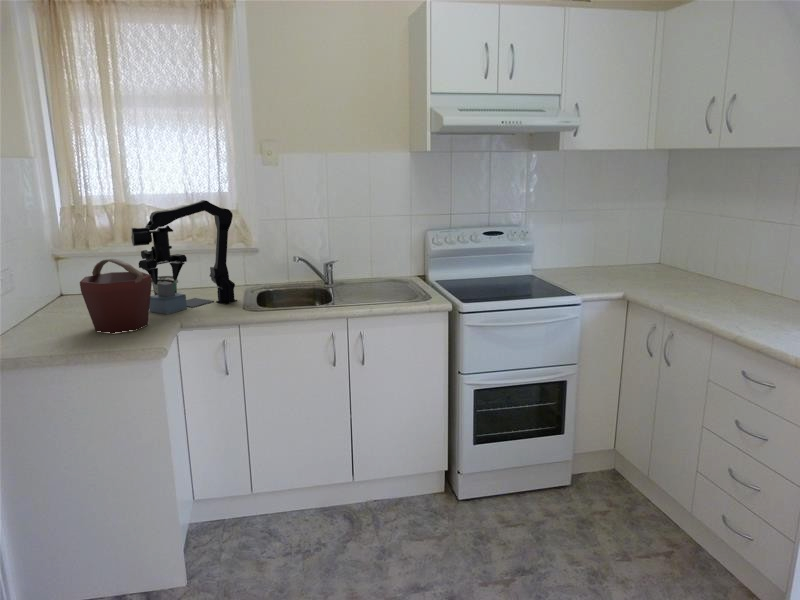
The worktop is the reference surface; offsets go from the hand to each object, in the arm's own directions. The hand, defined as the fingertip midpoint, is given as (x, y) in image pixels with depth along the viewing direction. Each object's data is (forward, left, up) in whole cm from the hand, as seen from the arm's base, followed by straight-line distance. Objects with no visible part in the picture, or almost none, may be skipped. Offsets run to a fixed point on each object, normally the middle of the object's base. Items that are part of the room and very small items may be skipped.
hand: (165, 282), depth 230 cm
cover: (0, 0, -11) cm, 11 cm away
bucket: (-6, +26, -12) cm, 29 cm away
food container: (+15, -13, -12) cm, 23 cm away
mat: (0, -13, -11) cm, 17 cm away
